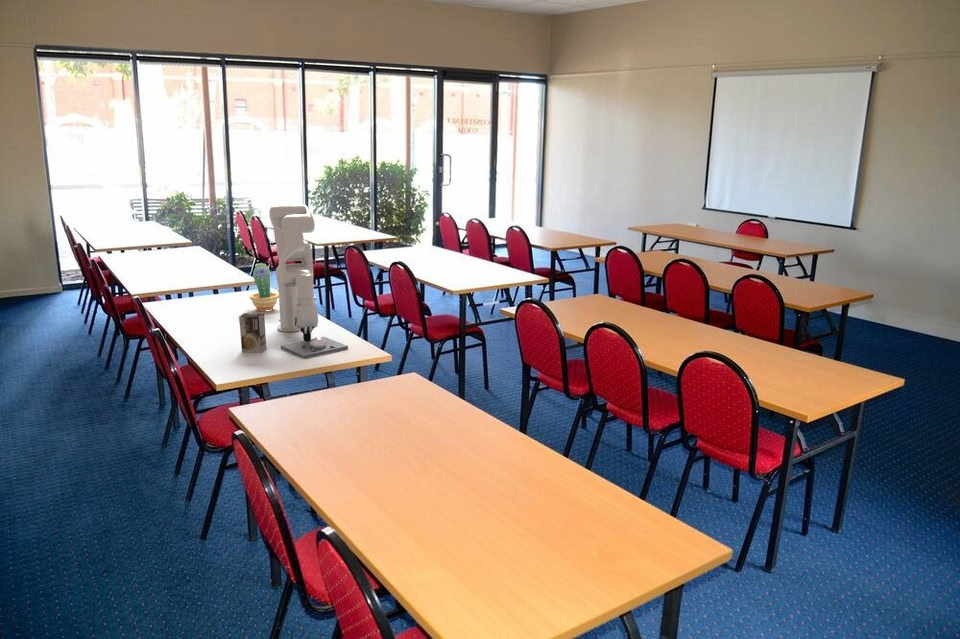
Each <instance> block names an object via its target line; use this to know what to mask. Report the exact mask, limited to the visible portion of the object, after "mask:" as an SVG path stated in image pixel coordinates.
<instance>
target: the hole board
mask: <svg viewBox="0 0 960 639" xmlns="http://www.w3.org/2000/svg"><path fill="white" fill-rule="evenodd" d="M319 338H322V339H323V340H324V341H325V347H324V349H313V348H312V346H311V342H312V340H313V339H314V338H311V342H305V341H304V340H302V341H301V340H299V341H295V342H290V343H286V344H282V345H280V350H283V351H286V352H288V353H290V354H291V355H294V356H296V357H299V358H301V359H303V360H305V359H311V358H315V357H319V356H325V355H328V354H332V353H337V352H341V351H347V350H349V345H348V344H344V343H341V342H339V341H337V340H334V339H331V338H329V337H326V336H321V337H319Z"/></svg>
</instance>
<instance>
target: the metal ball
mask: <svg viewBox="0 0 960 639" xmlns="http://www.w3.org/2000/svg"><path fill="white" fill-rule="evenodd" d="M312 339H313V340H312V342H311V346H312V348H313V349H324V347H325V341H324V340H323V339H322V338H320V337H315V338H314V337H313V338H312Z"/></svg>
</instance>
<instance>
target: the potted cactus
mask: <svg viewBox="0 0 960 639" xmlns="http://www.w3.org/2000/svg"><path fill="white" fill-rule="evenodd" d="M253 281H254V283H255V285H256V287H257V290H258V292H256V293H250V295H248V298H249V300H251V302H252V305H254V307H255V308H256V309H257V310H260V311H266V310H271V309H273V308H274V307H275V305H276V304H277V301H278V299H279V292H273V291H272V292H271V286H270V283H271V270H270V268H269V267H268V265H267V264H266V263H257V264H256V265H255V267H254V269H253ZM257 310H256V311H257Z"/></svg>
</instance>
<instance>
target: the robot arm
mask: <svg viewBox="0 0 960 639" xmlns="http://www.w3.org/2000/svg"><path fill="white" fill-rule="evenodd" d="M268 214H269V219H270V223H271V225H272V227H273V229H274V234H275V243H276V253H277V257H278V259H279V261H278V266H277V267H276V269H275V278H276V282H277V288H278V294H279V298H278V302H279V319H278V322H280V325H278V326H277V330H278V331H279V332H284V333H285V332H286V333H291V332H292V333H293V332H299V331H300V332H302V339H303V341H305V342H311V339H312V333H313V330H314V329H315V328H318V326H319V325H318V323H319V315H318V308H317V304H316V303H315V301H316V300H317V296H315V293H314V292H315V291H314V264H313V253H312V246H311V244H310V242H309V241H307V240H304V239H305V238H304V233H305V234H307V233H313V232H314V231H315V226H316V225H315V223H316V222H315V219H314V216H313V214H312V212H311V211H310V209H309V207H308V206H307V205H306V204H305V203H296V204H295V203H291V204H283V203H282V204H276V205H273V206H271V207H270V208H269V211H268ZM299 261H301V263H300V262H299ZM287 262H299V263H287ZM286 263H287V264H286Z"/></svg>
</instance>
